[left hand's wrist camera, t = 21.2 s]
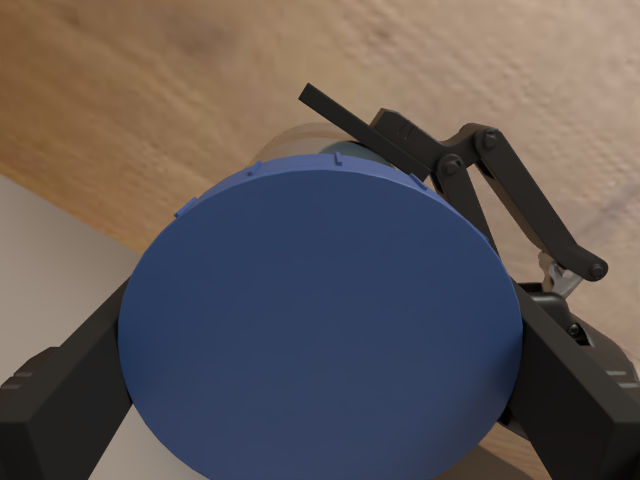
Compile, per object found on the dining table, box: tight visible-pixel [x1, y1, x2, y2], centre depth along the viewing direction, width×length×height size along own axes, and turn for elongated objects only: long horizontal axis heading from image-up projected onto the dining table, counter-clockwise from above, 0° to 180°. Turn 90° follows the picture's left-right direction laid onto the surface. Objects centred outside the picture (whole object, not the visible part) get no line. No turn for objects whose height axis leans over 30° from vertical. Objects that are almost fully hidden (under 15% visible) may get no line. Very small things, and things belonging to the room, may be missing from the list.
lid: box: [117, 152, 523, 480], centre depth 11 cm, size 11×11×2 cm
